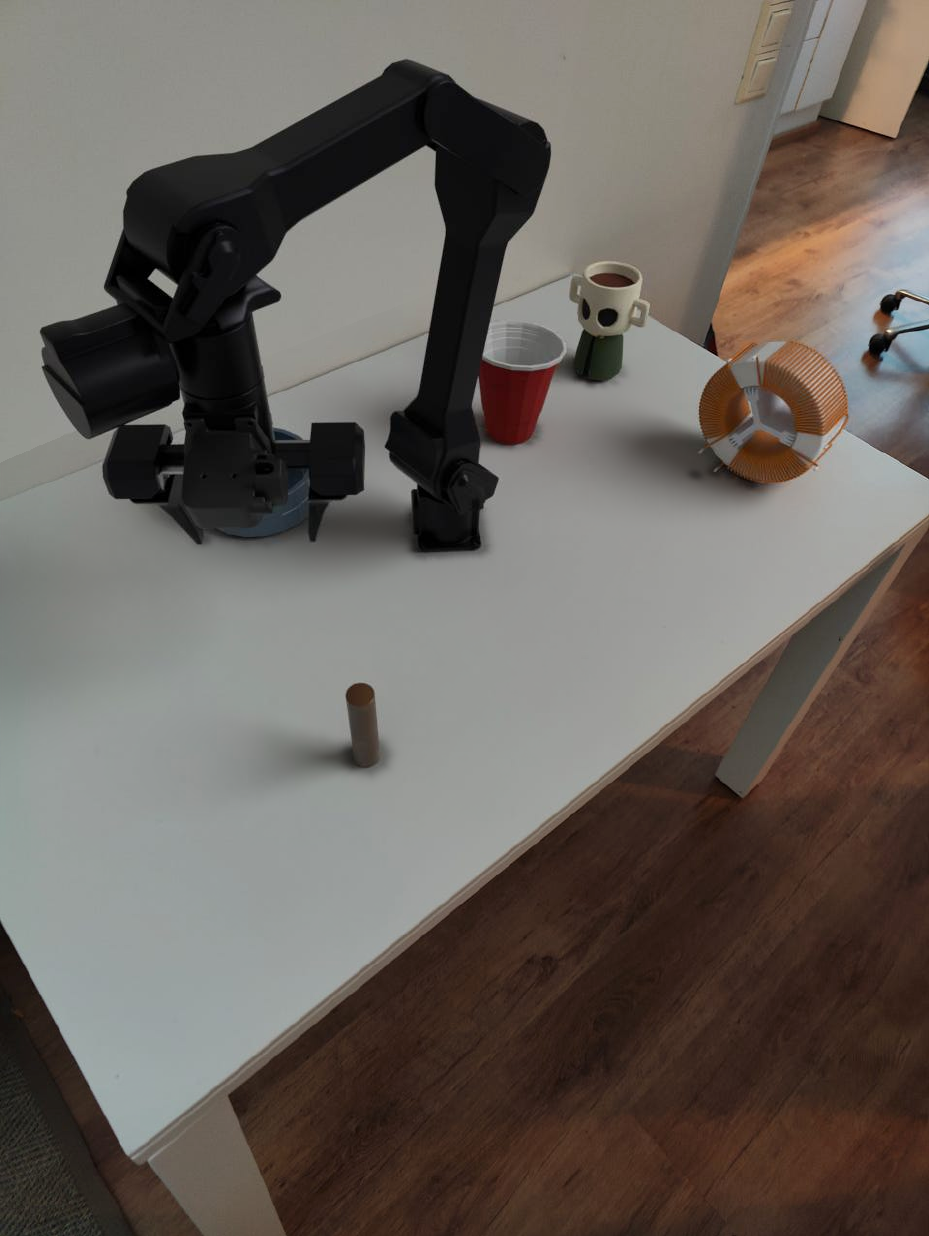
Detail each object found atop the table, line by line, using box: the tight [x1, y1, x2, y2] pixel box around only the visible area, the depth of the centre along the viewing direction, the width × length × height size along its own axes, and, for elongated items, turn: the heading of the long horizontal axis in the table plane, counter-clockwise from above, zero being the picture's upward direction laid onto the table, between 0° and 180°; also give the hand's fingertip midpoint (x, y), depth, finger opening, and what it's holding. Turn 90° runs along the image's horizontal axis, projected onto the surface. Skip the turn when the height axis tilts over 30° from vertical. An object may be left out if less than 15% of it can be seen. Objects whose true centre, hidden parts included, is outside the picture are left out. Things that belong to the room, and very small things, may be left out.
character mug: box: [568, 260, 651, 381], centre depth 103 cm, size 11×7×13 cm, turn 53°
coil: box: [698, 339, 850, 485], centre depth 90 cm, size 7×15×15 cm, turn 49°
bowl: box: [215, 427, 310, 538], centre depth 87 cm, size 13×13×5 cm
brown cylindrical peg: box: [345, 682, 381, 768], centre depth 66 cm, size 2×2×9 cm
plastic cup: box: [478, 319, 568, 446], centre depth 94 cm, size 11×11×12 cm
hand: (257, 539), depth 68 cm, fingers open, 9 cm apart
